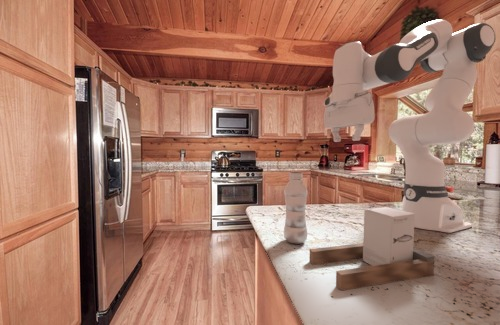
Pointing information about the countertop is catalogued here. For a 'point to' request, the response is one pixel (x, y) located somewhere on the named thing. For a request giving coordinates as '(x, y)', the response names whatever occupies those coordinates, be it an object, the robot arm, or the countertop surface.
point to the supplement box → (388, 236)
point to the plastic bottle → (295, 209)
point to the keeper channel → (372, 274)
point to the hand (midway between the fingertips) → (346, 141)
